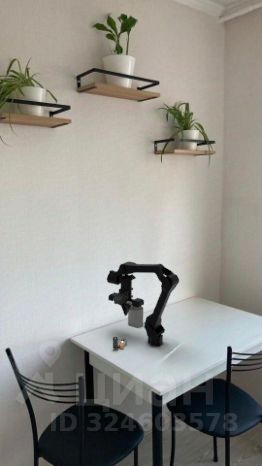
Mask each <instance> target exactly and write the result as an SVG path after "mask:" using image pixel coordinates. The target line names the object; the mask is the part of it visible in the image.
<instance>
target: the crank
mask: <svg viewBox="0 0 262 466" xmlns="http://www.w3.org/2000/svg"><path fill="white" fill-rule="evenodd" d="M121 343H122V344H124V347H126V346H127V345H128V339H126V338H120V339H119V337H118V336H113V337H112V349H114V350H117V349H118V348H120V344H121Z"/></svg>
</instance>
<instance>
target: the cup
mask: <svg viewBox="0 0 262 466" xmlns="http://www.w3.org/2000/svg"><path fill="white" fill-rule="evenodd" d="M127 326H129V327H131V328H136V329H138V328H142V327H144V307H143V305H142V306H140V307H138V308H137V307H133V306H131V308H130V310H129V312H128V314H127Z"/></svg>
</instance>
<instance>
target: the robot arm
mask: <svg viewBox="0 0 262 466" xmlns="http://www.w3.org/2000/svg"><path fill="white" fill-rule="evenodd" d="M134 273H136V274H137V273H138V274H139V273H142V274H143V273H144V274H155V275H156V277H157V278H158V281H159V282H160V283H161V285H160V287H161V291H160V293H159V297H158V299H157V301H156V304H155V307H154V308H153V311H152V313H150V314H149V315H147V316H146V318H145V321H144V322H143V327H144V330H145V332H146V335H147V343H148V344H149V345H150V346H153V347H161V346H162V345H164V344H163V342H164V341H163V340H164V339H163V338H164V337H163V335H164V333H165V331H166V329H165V327H164V326H163V325H162V320H163V319H162V316H163V313H164V311H165V308H166V306H167V304H168V301H169V298H170V296H171V293H173V291H174V290H175V289H176V288H177V286H178V284H179V283H180V278H179V276H178V275H177V274H175V273H174V272H173V271H172V270H171V269H169V268H168V267H165V265H164V264H162V263H143V264H142V263H141V264H140V263H136V262H133V261H126V262H124V263H123V262H122V263H120V265H119V266H118V269H117V271H115V270H113V269H111V270H109V273H108V274H107V277H106V281H107V283H108V284H111V285H116V286H119V285H120V288H118V292H112V293H110V294H108V299H107V300H108V301H111V302H113V303H114V304H115V305H119V306H120V308H121V309H122V312H123V315H124V317H126V316H128V312H129V310H130V308H131V306H133V307H137V308H138V307H140V306H142V307H143V306H144V305H145V300H144V299H143V298H140V297H136V298H134V295H133V293H132V292H133V290H134V287H132V286H133V281H134V280H135V279H136V278H137V277H136V276H135V275H134Z"/></svg>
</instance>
